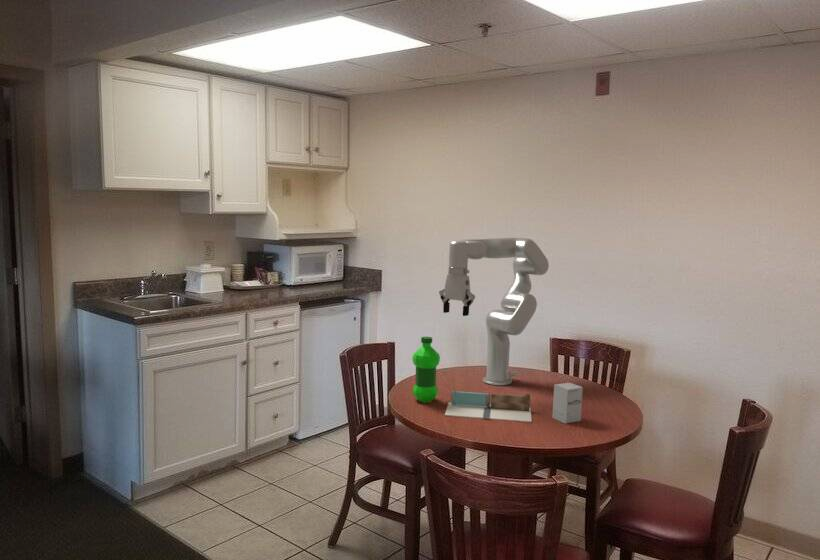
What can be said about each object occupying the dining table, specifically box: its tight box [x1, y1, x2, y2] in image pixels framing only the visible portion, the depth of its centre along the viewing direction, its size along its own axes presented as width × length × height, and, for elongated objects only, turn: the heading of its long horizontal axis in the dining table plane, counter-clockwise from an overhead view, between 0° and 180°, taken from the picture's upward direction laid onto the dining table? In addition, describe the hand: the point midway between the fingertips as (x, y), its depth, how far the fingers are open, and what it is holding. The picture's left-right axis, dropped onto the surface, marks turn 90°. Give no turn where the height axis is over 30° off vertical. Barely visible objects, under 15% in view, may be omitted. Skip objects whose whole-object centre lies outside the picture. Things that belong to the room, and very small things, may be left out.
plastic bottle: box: [412, 336, 441, 403], centre depth 239 cm, size 10×10×25 cm
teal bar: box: [450, 390, 491, 407], centre depth 233 cm, size 15×2×5 cm, turn 80°
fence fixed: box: [490, 393, 531, 411], centre depth 230 cm, size 14×2×6 cm, turn 80°
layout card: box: [444, 401, 533, 423], centre depth 227 cm, size 31×16×1 cm, turn 80°
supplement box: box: [551, 382, 584, 424], centre depth 221 cm, size 7×7×13 cm
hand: (455, 314), depth 248 cm, fingers open, 9 cm apart
